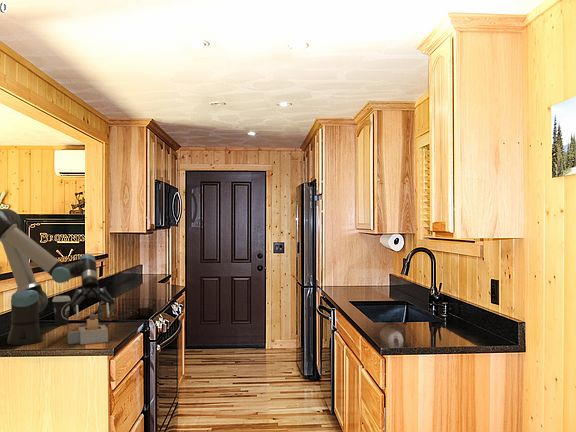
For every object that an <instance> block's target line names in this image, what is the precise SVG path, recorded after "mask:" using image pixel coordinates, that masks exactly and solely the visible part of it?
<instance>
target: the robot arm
mask: <svg viewBox="0 0 576 432" xmlns="http://www.w3.org/2000/svg"><path fill="white" fill-rule="evenodd" d="M21 223H22V222H21V217H20V215H19V214H18V213H17V212H16V211H14V210H13V209H10V208H0V242H1V244H2V247H3V250H4V253H5V254H6V258H7V261H8V265H9V266H10V269H11V271H12V275H13V279H14V281H15V284H16V286H17V288H16V291H15V292H14V293H12V294H11V297H10V298H11V299H10V304H11V305H10V307H11V308H10V309H11V311H10V312H11V313H10V315H11V319H10V320H11V326H10V329H9V330H10V331H9V332H8V336H7V344H8V345H10V344H11V346H23V345H24V346H25V345H32V344H37V343H40V342H43V340H44V335H43V332H42V329H41V326H40V319H39V318H40V315H39V314H40V313H42V312H43V311H44V310H45V309H46V308H47V306H48V303H49V297H48V294H47V293H46V291H44V290H43V287H42V285H41V283H40V282H37V280H36V278H35V275H34V273H33V269H32V266H31V263H30V261H32V262H33V263H34V264H36V265H37V266H38V267H39V268H40V269H42V270H43V271H44V272H46V273H47V274H48V275H49V276H50V277H51V278H52V281H54V282H55V283H57V284H63V283H66V282H68V281H70V280H71V279H77V278H78V277H80V278H81V289H79V288H75V292H74V294H73V296H72V298H70V299H71V300H70V303H69V308H73V309H72V310H73V313H74V314H76V320H77V321H78V320H80V319H79V317H80V315H79V305H80V304H81V303H82V302H83V301H84V300H86V298H88V299H91V298H97V299H98V300H100V302H101V301H103V302H104V303H105V304H106V309H107V317H109V314H110V313H109V310H111V304H114V300H115V299H114V297H112V295H111V294H110V293H109V291H108V290H107V289H106V288H107V287H106V286H103V287H102V288H101V287H100V286H99V280H98V279H99V278H98V270H97V262H96V261H97V260H96V257H95V256H94V255H93V254H91V253H87V254H83V255H81V256H80V257H79V260H77V261H75V262H71V263H68V264H63V263H62V262H61V261H60V260H58V259H57V258H56V257H55V256H53V255H52V254H51V253H50V252H49V251H48V250H46V249H44V247H42V246H41V245H40V244H38V243H37V242H36V241H35V240H34V239H32V238H31V237H30V236H29V235H27V234H26V233H25V232H24V231H22V227H21ZM29 260H30V261H29ZM80 294H81V295H80ZM79 295H80V296H79Z"/></svg>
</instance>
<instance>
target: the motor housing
mask: <svg viewBox="0 0 576 432" xmlns="http://www.w3.org/2000/svg"><path fill="white" fill-rule="evenodd" d="M77 329H78V330H70V331H67V344H68V345H74V344H75V345H77V344H80V345H81V346H83V345H92V344H93V345H94V344H103V343H109V328H107V326H106V324H98V329H93V330H87V325H86V326H78V328H77Z"/></svg>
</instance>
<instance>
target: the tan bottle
mask: <svg viewBox="0 0 576 432" xmlns="http://www.w3.org/2000/svg"><path fill="white" fill-rule="evenodd" d="M98 325H99V318H96V314H95V313H90V314H89V318H88V319H86V326H87V330H93V329H98Z"/></svg>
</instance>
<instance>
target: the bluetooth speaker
mask: <svg viewBox="0 0 576 432" xmlns="http://www.w3.org/2000/svg"><path fill="white" fill-rule="evenodd" d="M100 305H106V304H105V303H104V302H103V301H101V300H100V302H99V304H98V307H99V306H100ZM111 306H115V307H116V306H117V303H116V300H115V299H114V304H111ZM98 307H97V310H98V312H99V308H98Z"/></svg>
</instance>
